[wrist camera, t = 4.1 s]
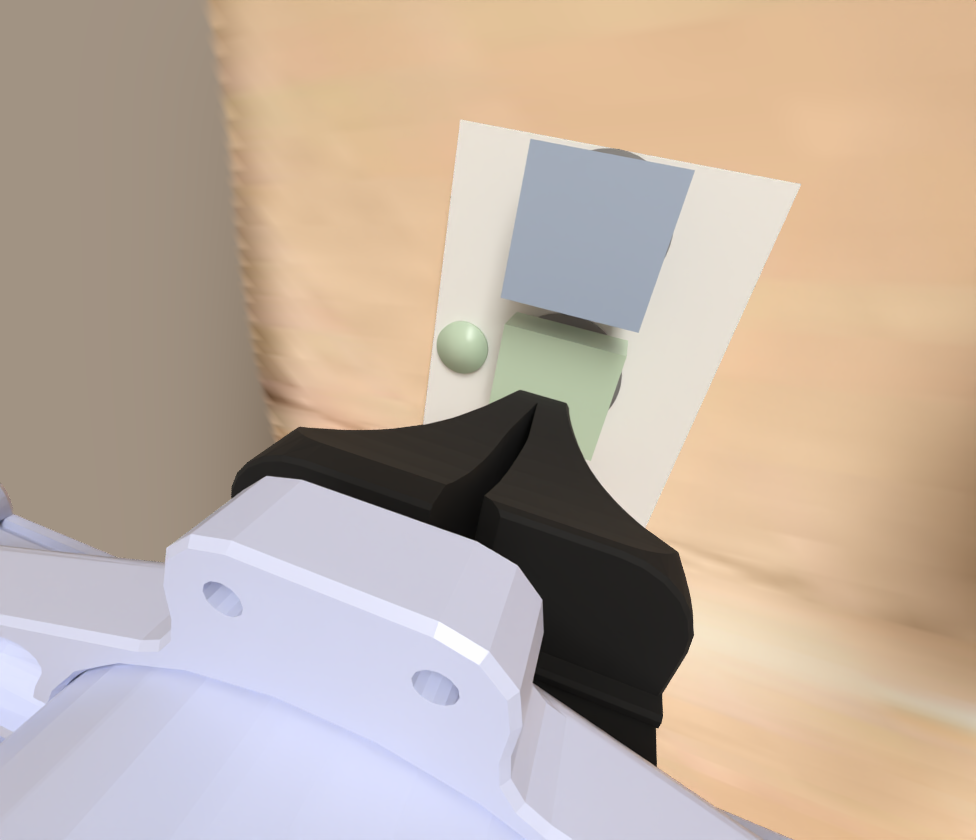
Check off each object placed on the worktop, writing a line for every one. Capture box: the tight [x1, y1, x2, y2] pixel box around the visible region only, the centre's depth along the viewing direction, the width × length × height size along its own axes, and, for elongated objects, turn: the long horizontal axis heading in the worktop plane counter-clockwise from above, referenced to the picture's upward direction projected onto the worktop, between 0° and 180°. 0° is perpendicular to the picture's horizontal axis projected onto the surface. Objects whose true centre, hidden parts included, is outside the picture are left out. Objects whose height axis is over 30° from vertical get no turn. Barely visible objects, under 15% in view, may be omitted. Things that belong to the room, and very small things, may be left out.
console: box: [423, 120, 801, 528], centre depth 16 cm, size 13×9×2 cm
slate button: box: [501, 139, 695, 333], centre depth 11 cm, size 4×4×2 cm
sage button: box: [489, 312, 628, 461], centre depth 14 cm, size 4×4×2 cm
